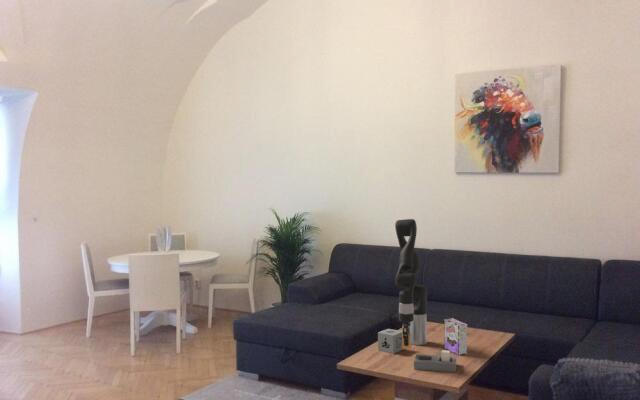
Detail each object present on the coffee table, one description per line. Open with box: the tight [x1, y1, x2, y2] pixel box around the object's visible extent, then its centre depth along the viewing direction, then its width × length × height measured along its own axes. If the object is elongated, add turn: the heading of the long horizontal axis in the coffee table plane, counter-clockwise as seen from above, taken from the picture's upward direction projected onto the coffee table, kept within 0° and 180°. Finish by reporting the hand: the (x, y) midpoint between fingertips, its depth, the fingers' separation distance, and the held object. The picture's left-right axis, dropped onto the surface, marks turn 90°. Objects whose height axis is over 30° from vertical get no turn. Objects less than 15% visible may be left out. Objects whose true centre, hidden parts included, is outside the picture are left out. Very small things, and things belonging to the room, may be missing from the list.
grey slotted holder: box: [413, 349, 457, 373], centre depth 290 cm, size 12×20×8 cm, turn 75°
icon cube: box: [377, 328, 404, 355], centre depth 318 cm, size 10×10×10 cm
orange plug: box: [402, 333, 412, 350], centre depth 297 cm, size 4×4×7 cm
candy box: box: [443, 317, 468, 356], centre depth 314 cm, size 14×6×16 cm, turn 21°
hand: (406, 344), depth 297 cm, fingers closed on orange plug, 4 cm apart
